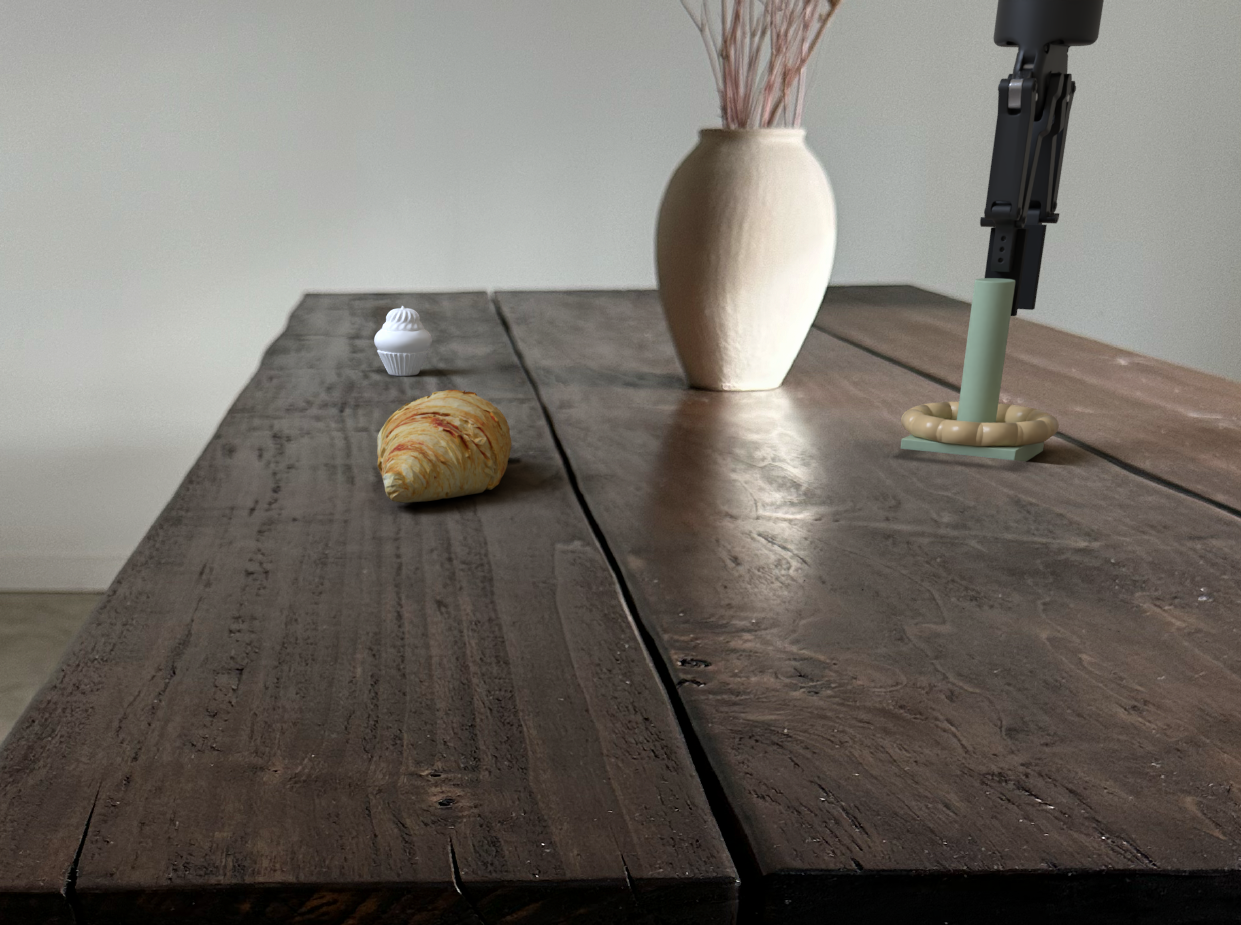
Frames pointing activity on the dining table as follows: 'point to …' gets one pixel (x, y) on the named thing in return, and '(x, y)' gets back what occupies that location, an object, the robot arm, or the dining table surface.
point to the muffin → (403, 342)
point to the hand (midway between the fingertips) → (1007, 310)
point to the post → (983, 372)
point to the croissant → (443, 447)
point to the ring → (980, 425)
